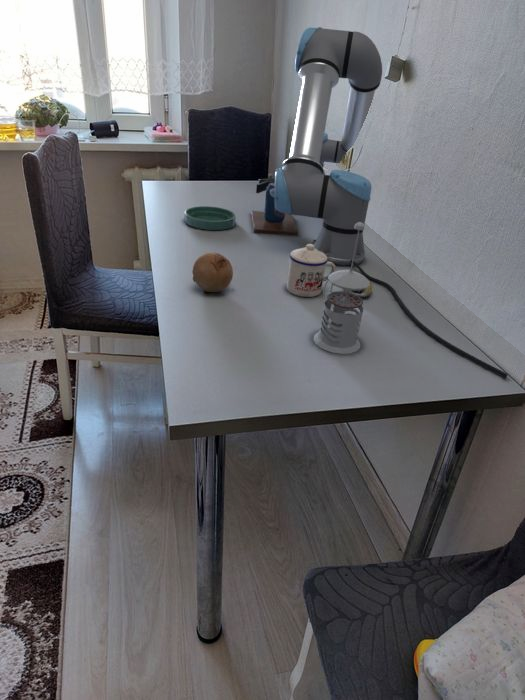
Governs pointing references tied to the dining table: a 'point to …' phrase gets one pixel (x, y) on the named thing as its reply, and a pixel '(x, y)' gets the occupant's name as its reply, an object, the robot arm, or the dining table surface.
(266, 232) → the board
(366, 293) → the pastry
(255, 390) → the dining table surface
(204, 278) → the onion
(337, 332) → the french press
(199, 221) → the bowl
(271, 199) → the soda can
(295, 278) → the teacup with lid
